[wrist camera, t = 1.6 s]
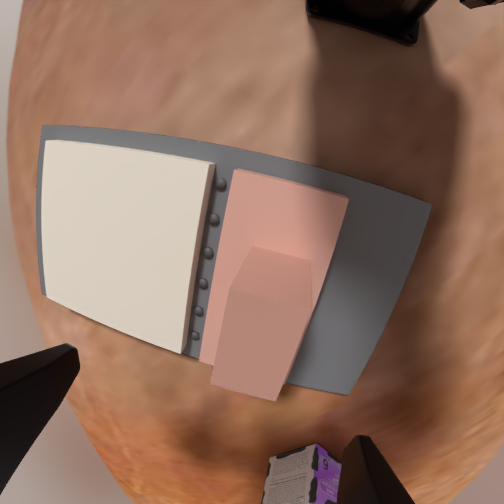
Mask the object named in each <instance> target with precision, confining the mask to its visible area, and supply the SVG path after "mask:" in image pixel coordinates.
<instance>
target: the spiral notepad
mask: <svg viewBox="0 0 504 504" xmlns="http://www.w3.org/2000/svg"><path fill="white" fill-rule="evenodd" d="M215 166H216V163H212V162H207V161H202V160H196V159H191V158H186V157H180V156H175V155H169V154H163V153H157V152H151V151H145V150H138V149H131V148H124V147H117V146H109V145H101V144H93V143H84V142H75V141H65V140H47V141H45V150H44V161H43V175H42V198H41V230H42V253H43V267H44V278H45V288H46V296H47V298H49V299H51V300H53V301H55V302H57V303H59V304H61V305H63V306H65V307H67V308H69V309H71V310H73V311H75V312H77V313H80V314H82V315H84V316H86V317H88V318H91V319H93V320H95V321H97V322H100V323H102V324H104V325H107V326H109V327H111V328H114V329H116V330H118V331H121V332H123V333H126V334H128V335H131V336H133V337H136V338H138V339H141V340H144V341H146V342H149V343H151V344H154V345H157V346H160V347H162V348H165V349H168V350H171V351H174V352H176V353H179V354H181V352H182V351H183V349H184V347H185V346H186V344H187V338H188V330H189V322H190V315H191V307H192V300H193V293H194V286H195V280H196V273H197V267H198V260H199V254H200V248H201V242H202V236H203V230H204V224H205V219H206V213H207V208H208V202H209V197H210V191H211V186H212V181H213V176H214V171H215ZM226 185H227V182H226V180H225V179H224V178H218V179H217V180H216V181H215V186H216V188H218V189H223V188H225V187H226ZM219 220H220V218H219V215H218V214H216V213H213V214H211V215H210V216H209V217H208V221H209V223H210V224H212V225H215V224H217V223H218V222H219ZM202 254H203V256H204V257H206V258H210V257H211V256H212V255H213V249H212V248H210V247H205V248H204V249H203V251H202ZM197 284H198V286H199V287H200V288H206V287H207V285H208V281H207V280H206V279H205V278H200V279H199V280H198V282H197ZM193 312H194V314H195V315H197V316H200V315H202V313H203V308H202V307H200V306H196V307H195V308H194V310H193ZM190 337H191V339H193V340H197V339H198V338H199V333H198V332H196V331H192V332H191V334H190Z"/></svg>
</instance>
